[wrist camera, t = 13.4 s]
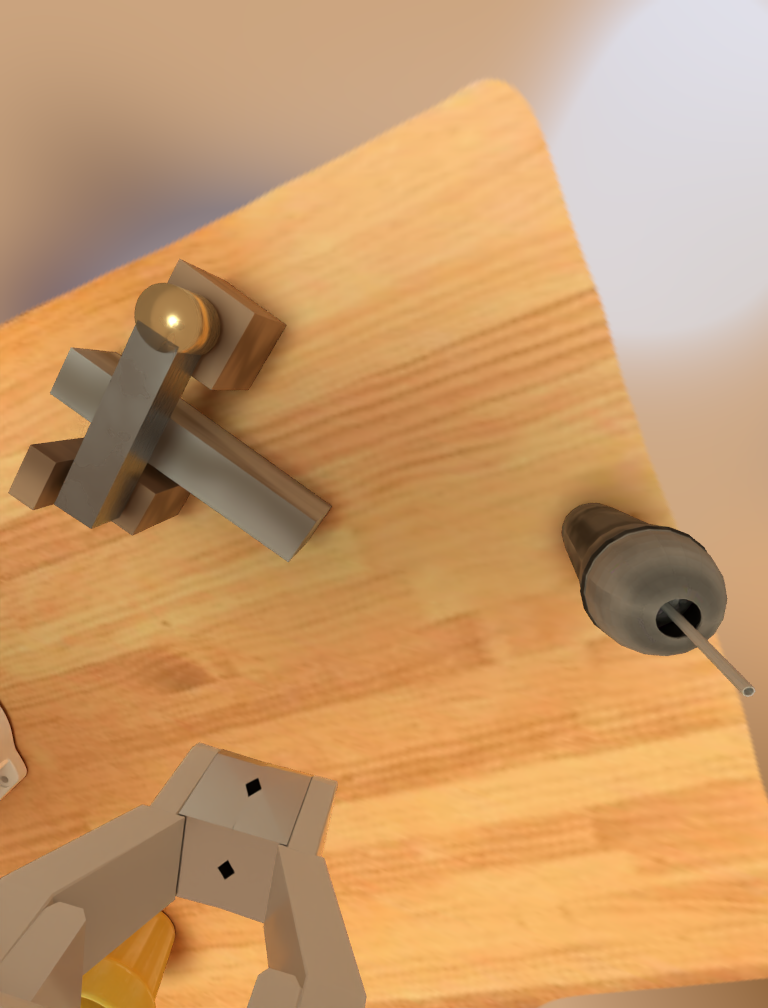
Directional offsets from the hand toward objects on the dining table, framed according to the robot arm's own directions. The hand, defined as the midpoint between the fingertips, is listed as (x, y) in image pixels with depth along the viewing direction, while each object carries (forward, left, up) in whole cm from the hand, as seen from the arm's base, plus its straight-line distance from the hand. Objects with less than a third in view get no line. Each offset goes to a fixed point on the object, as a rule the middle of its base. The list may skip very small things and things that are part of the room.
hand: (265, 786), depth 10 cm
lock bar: (-5, +18, -24) cm, 30 cm away
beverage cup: (+6, -14, -31) cm, 35 cm away
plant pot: (-59, -6, -31) cm, 67 cm away
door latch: (-5, +15, -31) cm, 35 cm away
